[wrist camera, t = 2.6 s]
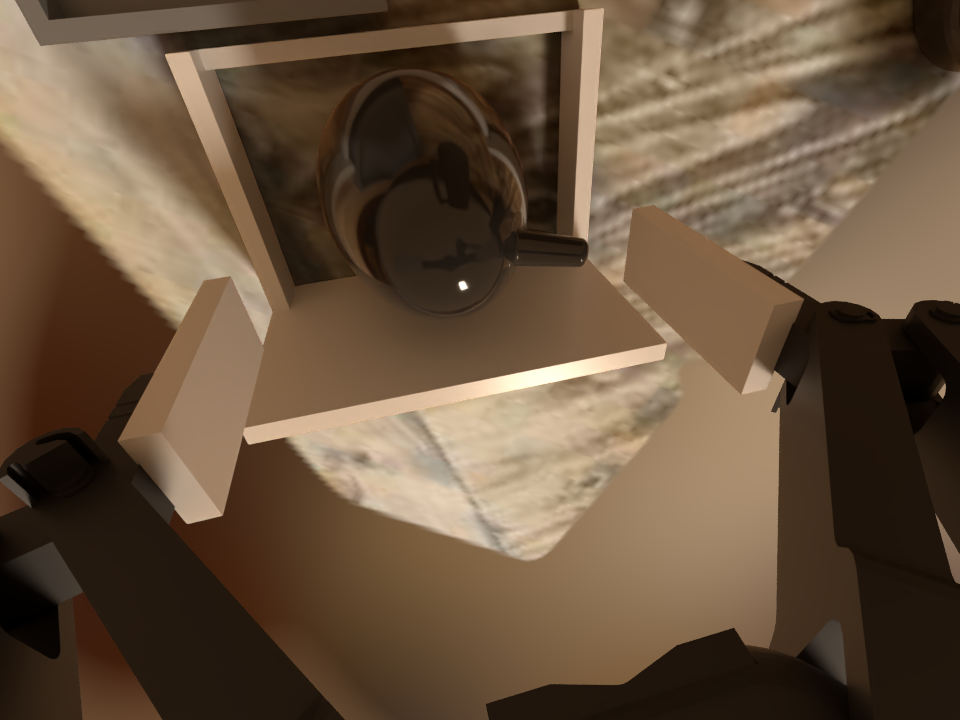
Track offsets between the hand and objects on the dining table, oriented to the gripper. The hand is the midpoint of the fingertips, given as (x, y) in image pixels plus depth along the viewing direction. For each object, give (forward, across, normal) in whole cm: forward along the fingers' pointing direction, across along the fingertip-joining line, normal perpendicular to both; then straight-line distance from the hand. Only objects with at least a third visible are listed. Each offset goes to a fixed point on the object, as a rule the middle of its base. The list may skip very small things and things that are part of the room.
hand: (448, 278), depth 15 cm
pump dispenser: (+15, -1, 0) cm, 15 cm away
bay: (+15, -1, +1) cm, 15 cm away
